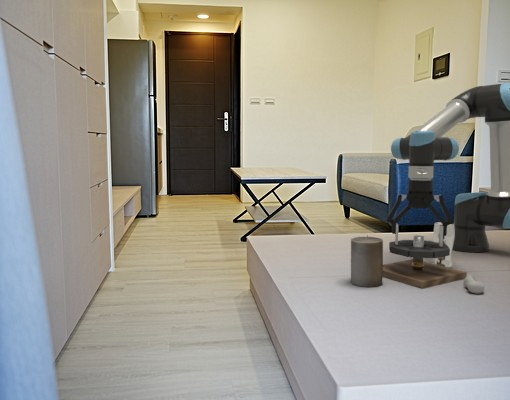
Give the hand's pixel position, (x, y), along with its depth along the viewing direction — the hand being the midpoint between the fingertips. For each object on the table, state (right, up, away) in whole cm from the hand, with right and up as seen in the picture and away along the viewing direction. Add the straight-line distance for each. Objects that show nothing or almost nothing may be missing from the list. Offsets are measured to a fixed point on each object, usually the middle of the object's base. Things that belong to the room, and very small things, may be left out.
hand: (418, 244), depth 153 cm
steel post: (0, -8, +1) cm, 8 cm away
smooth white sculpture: (+11, -12, -15) cm, 22 cm away
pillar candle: (-19, -11, -7) cm, 23 cm away
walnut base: (0, -10, +1) cm, 10 cm away
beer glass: (+13, -9, +14) cm, 21 cm away
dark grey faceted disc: (0, -2, 0) cm, 2 cm away
